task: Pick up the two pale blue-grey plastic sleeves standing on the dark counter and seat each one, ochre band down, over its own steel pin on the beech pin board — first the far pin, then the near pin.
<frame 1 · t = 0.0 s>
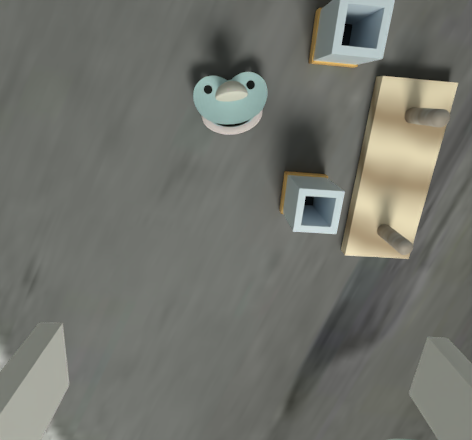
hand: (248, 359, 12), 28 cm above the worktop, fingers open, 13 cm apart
sleeve b: (301, 192, 40), on the worktop
sleeve a: (335, 39, 34), on the worktop
pin board: (390, 173, 39), on the worktop
pacifier: (230, 105, 36), on the worktop
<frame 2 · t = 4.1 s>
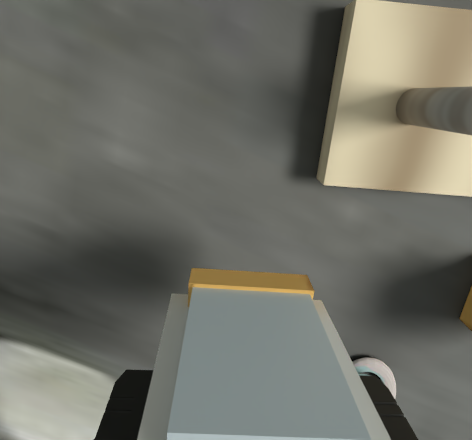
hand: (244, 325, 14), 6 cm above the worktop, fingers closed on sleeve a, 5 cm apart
sleeve a: (244, 320, 15), point 6 cm above the worktop, touching gripper
pacifier: (348, 387, 24), on the worktop
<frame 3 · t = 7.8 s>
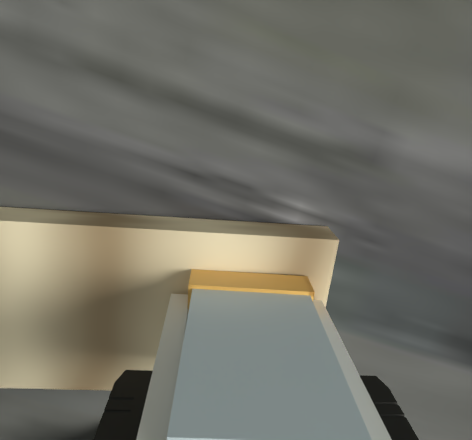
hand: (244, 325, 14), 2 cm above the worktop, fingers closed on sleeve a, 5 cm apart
sleeve a: (244, 321, 14), point 2 cm above the worktop, touching gripper
pin board: (97, 295, 15), on the worktop
when the fingers open (2 cm above the worktop, at t = 8.1 s): sleeve a stays where it is, resting on pin board.
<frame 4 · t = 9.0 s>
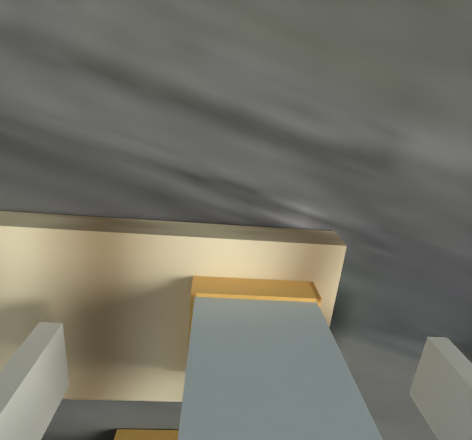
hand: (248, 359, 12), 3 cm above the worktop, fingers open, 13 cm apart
sleeve a: (248, 328, 14), point 1 cm above the worktop, touching pin board
pin board: (95, 301, 15), on the worktop
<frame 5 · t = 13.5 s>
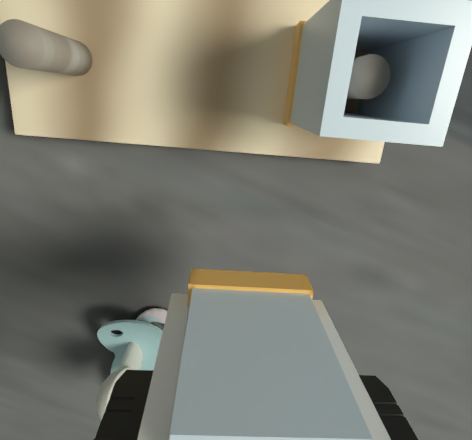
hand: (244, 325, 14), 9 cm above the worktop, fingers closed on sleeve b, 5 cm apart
sleeve b: (244, 320, 15), point 8 cm above the worktop, touching gripper
sleeve a: (333, 81, 18), point 1 cm above the worktop, touching pin board
pin board: (207, 72, 19), on the worktop
pacifier: (152, 340, 25), on the worktop
when the fingers open (2 cm above the worktop, at t = 16.6 s): sleeve b stays where it is, resting on pin board.
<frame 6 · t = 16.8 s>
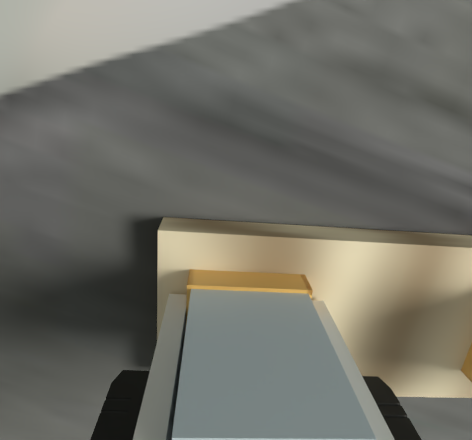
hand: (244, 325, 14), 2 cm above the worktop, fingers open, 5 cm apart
sleeve b: (242, 320, 15), point 1 cm above the worktop, touching pin board
pin board: (371, 307, 16), on the worktop
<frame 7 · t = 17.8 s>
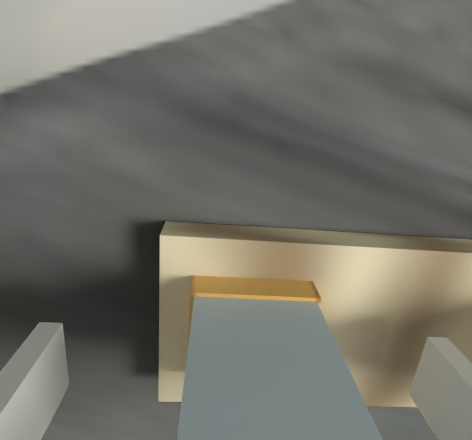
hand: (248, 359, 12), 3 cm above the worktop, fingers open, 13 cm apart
sleeve b: (247, 328, 14), point 1 cm above the worktop, touching pin board
pin board: (381, 314, 16), on the worktop
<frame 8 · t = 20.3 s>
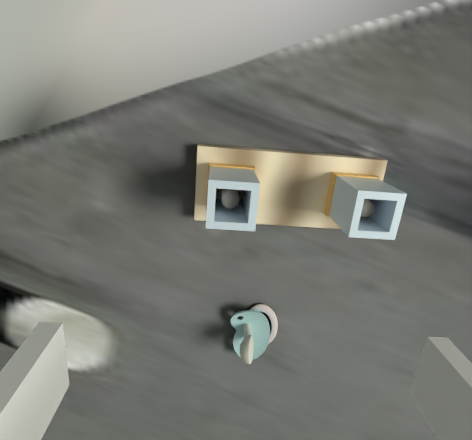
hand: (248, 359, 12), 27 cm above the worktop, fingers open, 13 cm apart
sleeve b: (229, 186, 36), point 1 cm above the worktop, touching pin board
sleeve a: (349, 194, 37), point 1 cm above the worktop, touching pin board
pin board: (286, 187, 38), on the worktop
pacifier: (254, 322, 44), on the worktop
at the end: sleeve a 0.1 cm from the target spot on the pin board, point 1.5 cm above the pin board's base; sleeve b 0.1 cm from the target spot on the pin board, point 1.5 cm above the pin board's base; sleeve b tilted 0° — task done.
